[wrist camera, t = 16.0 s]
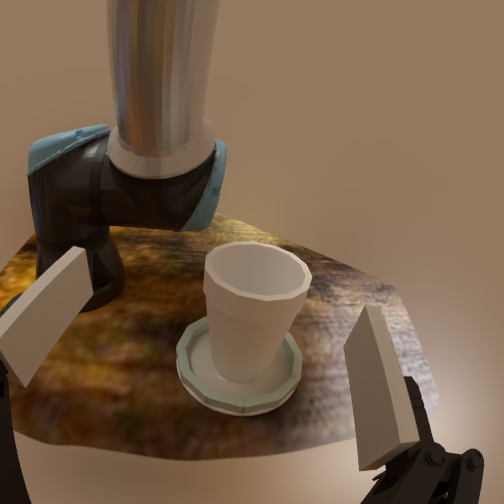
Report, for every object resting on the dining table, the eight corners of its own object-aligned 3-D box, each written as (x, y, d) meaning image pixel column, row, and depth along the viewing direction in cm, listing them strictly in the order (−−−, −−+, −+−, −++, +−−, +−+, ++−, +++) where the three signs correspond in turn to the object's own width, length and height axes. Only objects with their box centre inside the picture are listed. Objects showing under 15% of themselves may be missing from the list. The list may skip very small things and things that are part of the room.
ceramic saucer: (169, 327, 34) (169, 315, 33) (272, 317, 39) (275, 306, 38) (189, 426, 23) (189, 417, 22) (319, 398, 28) (325, 388, 27)
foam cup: (242, 323, 36) (259, 234, 30) (295, 366, 31) (330, 275, 25) (182, 353, 30) (183, 255, 24) (235, 410, 25) (257, 317, 19)
